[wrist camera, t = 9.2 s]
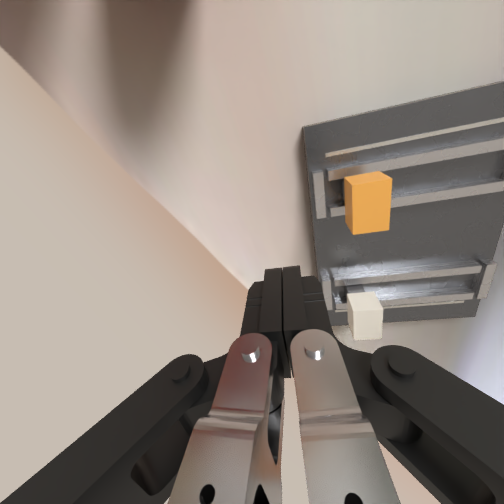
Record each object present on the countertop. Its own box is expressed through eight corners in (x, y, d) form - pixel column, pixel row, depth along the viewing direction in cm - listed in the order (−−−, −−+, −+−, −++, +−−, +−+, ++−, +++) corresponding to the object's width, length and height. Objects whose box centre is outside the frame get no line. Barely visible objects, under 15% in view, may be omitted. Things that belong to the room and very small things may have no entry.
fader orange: (367, 164, 20) (392, 178, 15) (366, 205, 21) (389, 230, 17) (336, 169, 20) (352, 185, 16) (338, 210, 22) (352, 234, 17)
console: (529, 74, 17) (565, 69, 15) (465, 307, 27) (481, 323, 25) (302, 126, 20) (304, 127, 18) (321, 317, 30) (324, 332, 28)
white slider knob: (365, 274, 25) (383, 309, 20) (364, 300, 26) (381, 338, 22) (340, 276, 25) (353, 311, 21) (341, 302, 27) (353, 340, 22)
